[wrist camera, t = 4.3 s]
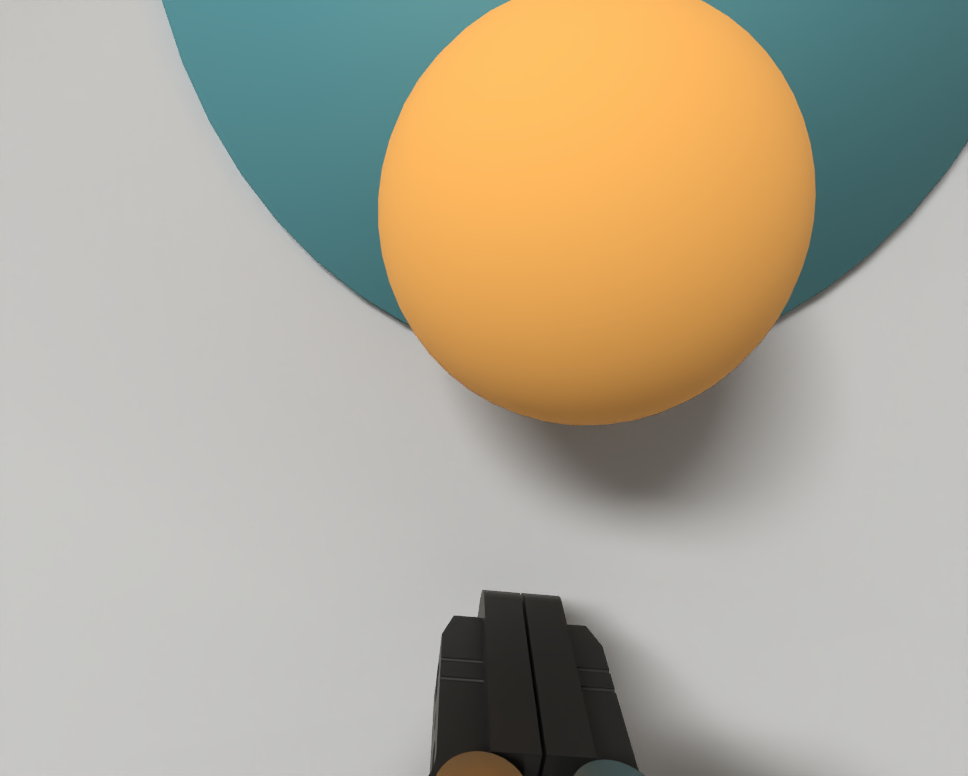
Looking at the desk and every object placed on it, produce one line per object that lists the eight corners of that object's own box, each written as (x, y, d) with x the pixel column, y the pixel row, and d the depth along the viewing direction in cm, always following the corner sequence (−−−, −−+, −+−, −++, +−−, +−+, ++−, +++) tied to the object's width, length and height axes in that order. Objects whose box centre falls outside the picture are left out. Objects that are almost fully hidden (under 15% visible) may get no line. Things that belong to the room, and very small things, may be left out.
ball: (900, 479, 6) (658, 406, 12) (981, -82, 6) (691, 107, 11) (362, 457, 5) (365, 388, 11) (405, -225, 5) (386, 59, 10)
